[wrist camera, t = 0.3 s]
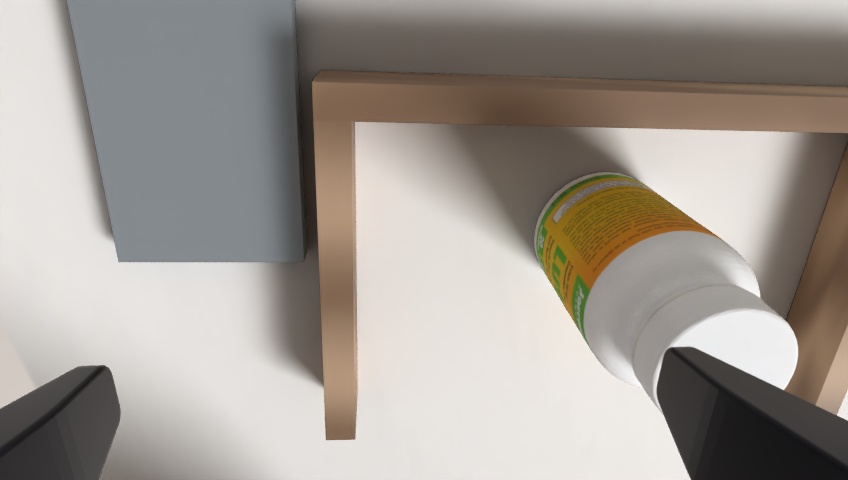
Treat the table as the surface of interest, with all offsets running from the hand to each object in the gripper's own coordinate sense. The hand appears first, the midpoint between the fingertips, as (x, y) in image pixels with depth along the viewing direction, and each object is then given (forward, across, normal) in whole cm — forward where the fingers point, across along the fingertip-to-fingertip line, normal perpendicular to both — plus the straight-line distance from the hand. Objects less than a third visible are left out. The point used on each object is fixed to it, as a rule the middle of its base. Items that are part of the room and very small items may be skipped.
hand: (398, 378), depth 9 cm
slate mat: (+14, +7, -1) cm, 15 cm away
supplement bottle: (+14, -9, +3) cm, 17 cm away
